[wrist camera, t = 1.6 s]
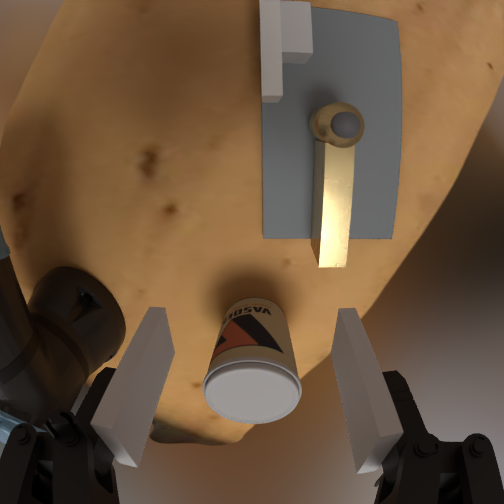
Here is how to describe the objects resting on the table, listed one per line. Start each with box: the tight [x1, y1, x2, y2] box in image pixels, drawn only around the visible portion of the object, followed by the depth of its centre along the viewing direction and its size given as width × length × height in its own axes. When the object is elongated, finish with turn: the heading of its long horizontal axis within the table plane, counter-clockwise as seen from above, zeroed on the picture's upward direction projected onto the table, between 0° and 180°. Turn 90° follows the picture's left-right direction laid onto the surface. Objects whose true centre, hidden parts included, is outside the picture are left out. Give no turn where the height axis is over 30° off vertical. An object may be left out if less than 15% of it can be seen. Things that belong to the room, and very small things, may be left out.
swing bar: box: [308, 102, 365, 267], centre depth 25 cm, size 14×4×6 cm, turn 1°
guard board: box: [259, 0, 402, 239], centre depth 23 cm, size 14×24×8 cm, turn 1°
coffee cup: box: [203, 298, 302, 424], centre depth 31 cm, size 9×9×12 cm
